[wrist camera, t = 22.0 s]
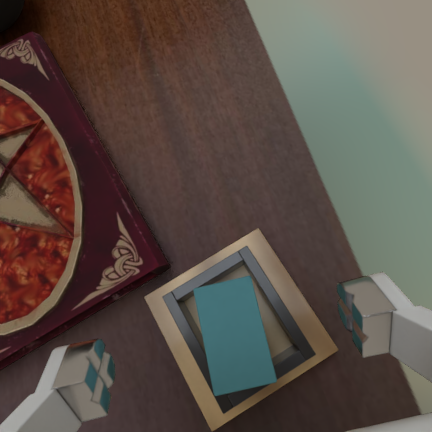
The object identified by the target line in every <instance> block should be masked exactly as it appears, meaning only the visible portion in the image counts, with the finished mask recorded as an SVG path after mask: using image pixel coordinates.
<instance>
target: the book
mask: <svg viewBox="0 0 432 432" xmlns="http://www.w3.org/2000/svg"><path fill="white" fill-rule="evenodd" d="M169 266H170V265H169V263H168V262H167V260H166V258H165V256H164V254H163V253H162V251H161V249H160V247H159V245H158V244H157V242H156V240H155V238H154V236H153V235H152V233H151V231H150V229H149V227H148V226H147V224H146V222H145V220H144V218H143V217H142V215H141V213H140V211H139V209H138V208H137V206H136V204H135V202H134V200H133V199H132V197H131V195H130V193H129V191H128V190H127V188H126V186H125V184H124V182H123V181H122V179H121V177H120V175H119V173H118V171H117V170H116V168H115V166H114V164H113V162H112V161H111V159H110V157H109V155H108V153H107V152H106V150H105V148H104V146H103V144H102V143H101V141H100V139H99V137H98V135H97V134H96V132H95V130H94V128H93V126H92V125H91V123H90V121H89V119H88V117H87V116H86V114H85V112H84V110H83V108H82V107H81V105H80V103H79V101H78V99H77V98H76V96H75V94H74V92H73V90H72V89H71V87H70V85H69V83H68V81H67V80H66V78H65V76H64V74H63V72H62V70H61V69H60V67H59V65H58V63H57V61H56V60H55V58H54V56H53V54H52V52H51V51H50V49H49V47H48V45H47V43H46V42H45V41H44V39H43V38H42V36H41V35H39V34H37V33H34V32H32V31H31V32H29V33H27V34H25V35H23V36H21V37H19V38H17V39H15V40H13V41H11V42H9V43H7V44H5V45H3V46H1V47H0V370H1V369H3V368H4V367H6V366H8V365H9V364H11V363H13V362H14V361H16V360H18V359H19V358H21V357H23V356H24V355H26V354H28V353H29V352H31V351H33V350H34V349H36V348H38V347H39V346H41V345H43V344H44V343H46V342H48V341H49V340H51V339H53V338H54V337H56V336H58V335H59V334H61V333H63V332H64V331H66V330H68V329H69V328H71V327H73V326H74V325H76V324H78V323H79V322H81V321H83V320H84V319H86V318H88V317H89V316H91V315H93V314H94V313H96V312H98V311H99V310H101V309H103V308H104V307H106V306H108V305H109V304H111V303H113V302H114V301H116V300H118V299H119V298H121V297H123V296H124V295H126V294H128V293H129V292H131V291H133V290H134V289H136V288H138V287H139V286H141V285H143V284H144V283H146V282H147V281H149V280H151V279H152V278H154V277H156V276H157V275H159V274H161V273H162V272H164V271H166V270H167V269H168V268H169Z"/></svg>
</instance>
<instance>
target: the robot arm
mask: <svg viewBox="0 0 432 432" xmlns="http://www.w3.org/2000/svg"><path fill="white" fill-rule="evenodd" d="M337 293H338V294H339V296H340V298H339V300H338V301H337V303H338V311H339V314H340V318H341V320H342V322H343V324H344V326H345V328H346V329H347V330H348V331H350V332H352V336H353V342H354V344H355V345H356V347H357V349H358V350H359V352H360V354H361V356H362V357H363V358H364V357H369V356H374V355H379V354H384V353H389V352H390V354H391V355H392V356H394V357H395V358H397V359H398V360H400V361H401V362H403V363H404V364H405V365H407V366H408V367H410V368H411V369H413V370H414V371H416V372H417V373H419V374H420V375H422V376H423V377H425V378H426V379H427V380H429V381H430V382H432V310H430V309H427V308H425V307H423V306H420V305H418V306H414V304H413V303H412V302H411V301H410V300H409V299H408V298H407V297H406V296H405V294H404V293H403V292H402V291H401V290H400V289H399V288H398V287H397V285H396V284H395V283H394V282H393V281H392V280H391V279H390V278H389V277H388V275H387V274H386V273H384V272H380V273H376V274H371V275H368V276H363V277H359V278H355V279H351V280H347V281H343V282H339V283H338V284H337ZM104 349H105V344H104V342H103V341H102V339H94V340H89V341H84V342H79V343H75V344H70V345H66V346H61V347H56V348H55V349H54V350H53V351H52V353H51V355H50V358H49V360H48V362H47V365H46V367H45V369H44V372H43V374H42V376H41V379H40V381H39V384H38V386H37V388H36V391H35V393H34V394H31V395H29V396H28V397H27V398H26V399H25V400H24V401H23V402H22V403H21V404H20V405H19V406H18V407H17V408H16V409H15V410H14V411H13V412H12V413H11V414H10V415H9V417H8V418H7V419H6V420H5V421H4V422H3V423H2V424H1V425H0V432H77V431H78V429H79V428H80V426H81V424H82V423H81V422H85V421H88V420H92V419H96V418H100V417H104V416H107V414H108V409H109V404H110V399H111V394H110V392H109V391H108V389H109V388H110V387H111V386H112V384H113V383H114V379H115V363H114V360H113V358H112V356H111V354H110V353H108V352H106V351H104ZM346 432H432V412H431V413H427V414H422V415H418V416H413V417H409V418H404V419H400V420H395V421H391V422H386V423H382V424H377V425H373V426H368V427H364V428H359V429H355V430H350V431H346Z"/></svg>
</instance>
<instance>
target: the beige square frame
mask: <svg viewBox="0 0 432 432" xmlns="http://www.w3.org/2000/svg"><path fill="white" fill-rule="evenodd" d="M245 276H251V278H252V282H253V286H254V290H255V294H256V298H257V302H258V306H259V310H260V314H261V318H262V322H263V326H264V330H265V334H266V338H267V342H268V346H269V350H270V354H271V358H272V362H273V366H274V370H275V374H276V378H277V382H276V383H272V384H267V385H263V386H259V387H254V388H250V389H245V390H241V391H236V392H232V393H228V394H223V395H219V396H214V393H213V388H212V383H211V378H210V373H209V367H208V362H207V357H206V352H205V347H204V342H203V337H202V332H201V327H200V322H199V317H198V312H197V307H196V302H195V297H194V292H193V289H194V288H198V287H202V286H207V285H211V284H215V283H219V282H224V281H228V280H232V279H236V278H241V277H245ZM144 298H145V300H146V302H147V304H148V306H149V308H150V310H151V312H152V314H153V316H154V318H155V320H156V322H157V324H158V326H159V328H160V330H161V332H162V334H163V336H164V338H165V340H166V342H167V344H168V346H169V348H170V350H171V352H172V354H173V356H174V358H175V360H176V362H177V364H178V366H179V368H180V370H181V372H182V374H183V376H184V378H185V380H186V382H187V383H188V385H189V387H190V389H191V391H192V393H193V395H194V397H195V399H196V401H197V403H198V405H199V407H200V409H201V411H202V413H203V415H204V417H205V419H206V421H207V423H208V425H209V427H210V429H211V431H212V432H213V431H214V430H216V429H217V428H219V427H220V426H222V425H223V424H225V423H226V422H228V421H230V420H231V419H233V418H234V417H236V416H237V415H239V414H240V413H242V412H244V411H245V410H247V409H248V408H250V407H251V406H253V405H254V404H256V403H257V402H259V401H261V400H262V399H264V398H265V397H267V396H268V395H270V394H271V393H273V392H274V391H276V390H278V389H279V388H281V387H282V386H284V385H285V384H287V383H288V382H290V381H292V380H293V379H295V378H296V377H298V376H299V375H301V374H302V373H304V372H305V371H307V370H309V369H310V368H312V367H313V366H315V365H316V364H318V363H319V362H321V361H323V360H324V359H326V358H327V357H329V356H330V355H332V354H333V353H335V352H336V351H338V348H337V347H336V345H335V344H334V342H333V341H332V339H331V338H330V336H329V335H328V333H327V332H326V330H325V329H324V327H323V325H322V324H321V322H320V321H319V319H318V318H317V316H316V315H315V313H314V312H313V310H312V309H311V307H310V306H309V304H308V303H307V301H306V300H305V298H304V297H303V295H302V293H301V292H300V290H299V289H298V287H297V286H296V284H295V283H294V281H293V280H292V278H291V277H290V275H289V274H288V272H287V271H286V269H285V268H284V266H283V265H282V263H281V261H280V260H279V258H278V257H277V255H276V254H275V252H274V251H273V249H272V248H271V246H270V245H269V243H268V242H267V240H266V239H265V237H264V236H263V234H262V232H261V231H260V229H259V228H257V229H256V230H254V231H252V232H251V233H249V234H248V235H246V236H244V237H243V238H241V239H239V240H238V241H236V242H234V243H233V244H231V245H229V246H228V247H226V248H224V249H223V250H221V251H219V252H218V253H216V254H214V255H213V256H211V257H209V258H208V259H206V260H204V261H203V262H201V263H199V264H198V265H196V266H194V267H193V268H191V269H190V270H188V271H186V272H185V273H183V274H181V275H180V276H178V277H176V278H175V279H173V280H171V281H170V282H168V283H166V284H165V285H163V286H161V287H160V288H158V289H156V290H155V291H153V292H151V293H150V294H148V295H146V296H145V297H144Z"/></svg>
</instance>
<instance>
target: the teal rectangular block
mask: <svg viewBox="0 0 432 432" xmlns="http://www.w3.org/2000/svg"><path fill="white" fill-rule="evenodd" d="M193 292H194V297H195V302H196V307H197V312H198V317H199V322H200V327H201V332H202V337H203V342H204V347H205V352H206V357H207V362H208V367H209V373H210V378H211V383H212V388H213V393H214V396H219V395H223V394H228V393H232V392H236V391H241V390H245V389H250V388H254V387H259V386H263V385H267V384H272V383H276V382H277V378H276V374H275V370H274V366H273V362H272V358H271V354H270V350H269V346H268V342H267V338H266V334H265V330H264V326H263V322H262V318H261V314H260V310H259V306H258V302H257V298H256V294H255V290H254V286H253V282H252V278H251V276H245V277H241V278H236V279H232V280H228V281H224V282H219V283H215V284H211V285H207V286H202V287H198V288H194V289H193Z"/></svg>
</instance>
